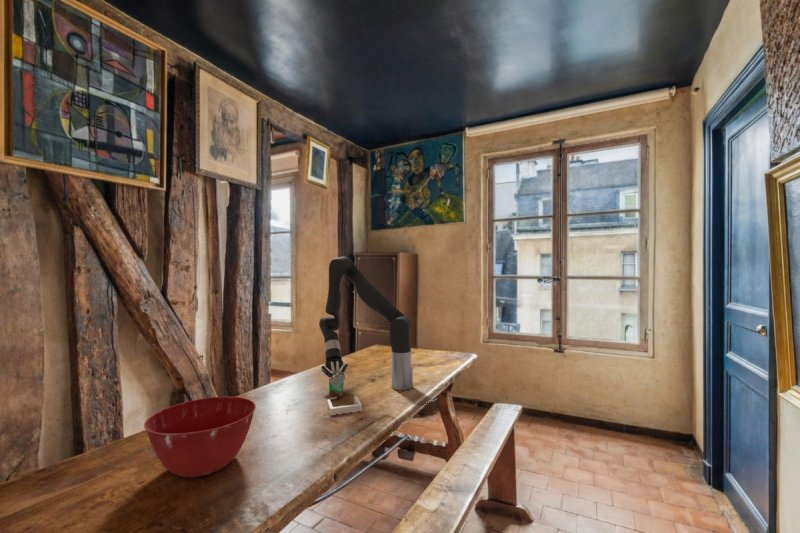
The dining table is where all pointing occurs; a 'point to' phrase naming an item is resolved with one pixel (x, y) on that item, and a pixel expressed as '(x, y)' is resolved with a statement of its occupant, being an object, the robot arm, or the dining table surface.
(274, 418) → the dining table surface
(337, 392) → the food container
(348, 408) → the bay
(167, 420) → the mixing bowl
